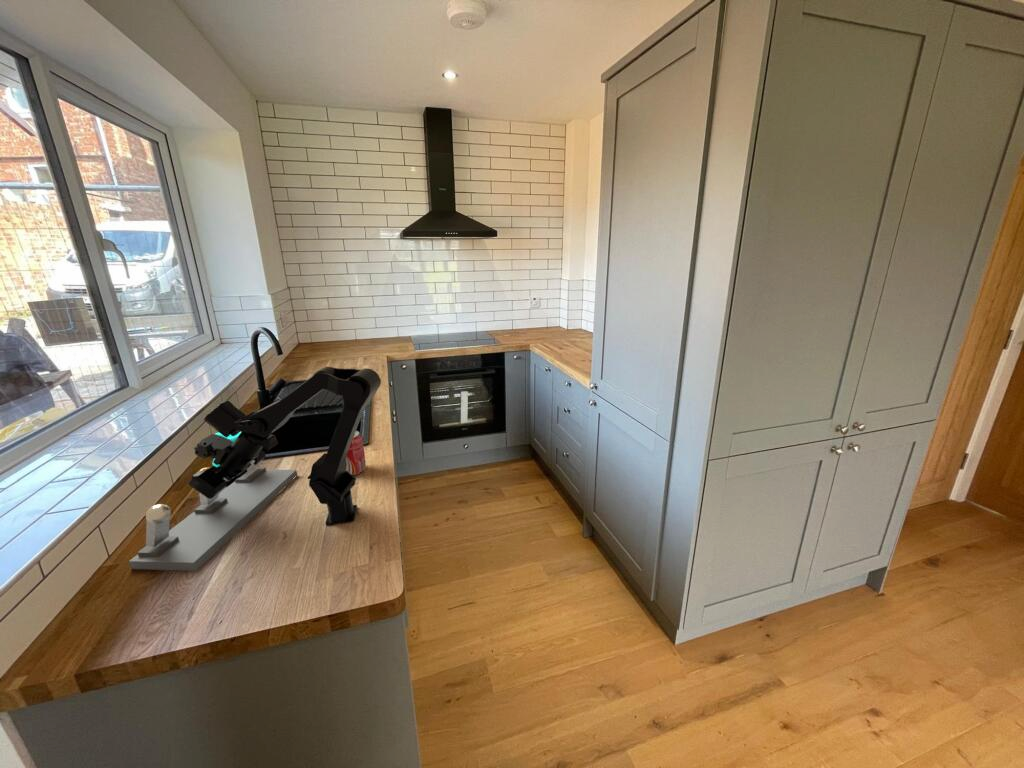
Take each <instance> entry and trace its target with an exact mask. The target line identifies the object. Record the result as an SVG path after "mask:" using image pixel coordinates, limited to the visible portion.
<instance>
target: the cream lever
mask: <svg viewBox="0 0 1024 768" xmlns="http://www.w3.org/2000/svg"><path fill="white" fill-rule="evenodd" d="M171 515H172V510H171V508H170V506H169V505H167V504H164V503H158V504H154V505H152V506H150V507H149V508H148V510H147V511H146V512H145V519H146V523H145V528H146V529H145V546H151V547H156V546H157V545H158V544H159V543H161V542H162V541H163V540H165V539H166V538H167V537H169V530H170V519H171Z"/></svg>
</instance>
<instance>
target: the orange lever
mask: <svg viewBox="0 0 1024 768" xmlns="http://www.w3.org/2000/svg"><path fill="white" fill-rule="evenodd" d="M209 468H211V467H209V466H207V467H203V468H200V469H199V470H198V471H197V472H196V473H198V472H199V471H201V470H202V469H209ZM198 495H199V501H200V502H199V503H200V505H201V504H204V505H209V504H210V503H211V502H213V501H214V500H215V499H217V498H218V497H219V494H217V495H216V496H215V497H213V498H207V497H205V496H204V495H203V494H201V493H200V492H198Z"/></svg>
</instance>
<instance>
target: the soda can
mask: <svg viewBox="0 0 1024 768" xmlns="http://www.w3.org/2000/svg"><path fill="white" fill-rule="evenodd" d="M365 454H366V453H365V448H364V442H363V437H362V436H361V434H360V432H359V431H358V430H356V432H355V434H354V437H353V439H352V442H351V445H350V447H349V450H348V452H347V455H346V463H347V466H346V471H348V472H349V473H350V474H351V475H353V476H355V475H358V474H361V473H362V472H363V471H364V470H365V469H366V467H367V466H366V464H367V463H366V457H365V456H366V455H365ZM360 472H361V473H360Z"/></svg>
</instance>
